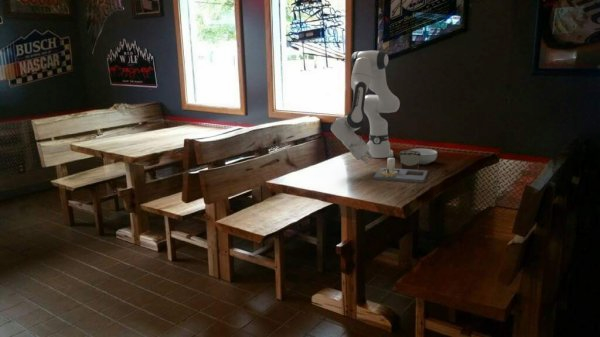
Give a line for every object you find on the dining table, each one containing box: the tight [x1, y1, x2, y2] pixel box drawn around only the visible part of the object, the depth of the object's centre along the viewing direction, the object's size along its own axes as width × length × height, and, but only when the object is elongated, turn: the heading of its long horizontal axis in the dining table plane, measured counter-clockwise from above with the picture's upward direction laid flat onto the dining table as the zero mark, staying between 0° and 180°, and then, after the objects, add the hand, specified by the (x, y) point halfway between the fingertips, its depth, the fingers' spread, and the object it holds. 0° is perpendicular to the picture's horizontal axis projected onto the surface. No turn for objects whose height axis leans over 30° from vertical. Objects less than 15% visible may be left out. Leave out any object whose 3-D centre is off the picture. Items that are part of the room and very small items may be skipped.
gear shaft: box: [386, 157, 398, 174], centre depth 270 cm, size 7×7×9 cm
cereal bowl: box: [410, 148, 438, 165], centre depth 294 cm, size 17×17×7 cm
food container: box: [399, 149, 421, 170], centre depth 282 cm, size 12×6×10 cm, turn 74°
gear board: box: [372, 167, 429, 184], centre depth 266 cm, size 20×26×5 cm
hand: (370, 160), depth 274 cm, fingers open, 8 cm apart
